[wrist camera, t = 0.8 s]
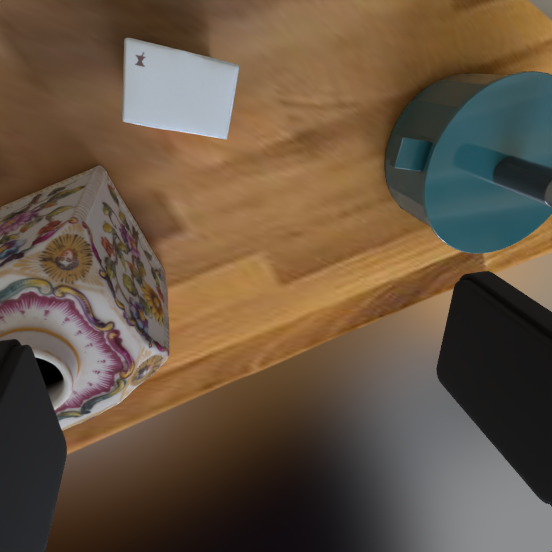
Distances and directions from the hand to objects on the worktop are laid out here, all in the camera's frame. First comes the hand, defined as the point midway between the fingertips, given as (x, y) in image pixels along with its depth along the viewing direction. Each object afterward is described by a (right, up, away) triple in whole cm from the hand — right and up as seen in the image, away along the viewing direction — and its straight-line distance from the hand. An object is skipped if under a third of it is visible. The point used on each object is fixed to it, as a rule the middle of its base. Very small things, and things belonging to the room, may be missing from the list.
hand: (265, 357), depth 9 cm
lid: (+19, +11, +26) cm, 34 cm away
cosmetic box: (-8, +17, +24) cm, 30 cm away
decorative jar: (-17, +4, +28) cm, 33 cm away
